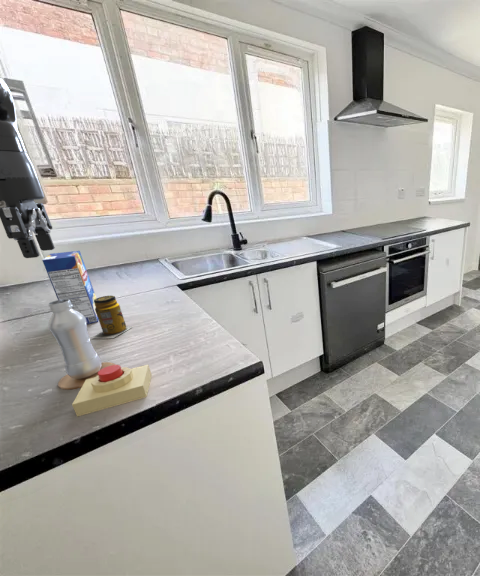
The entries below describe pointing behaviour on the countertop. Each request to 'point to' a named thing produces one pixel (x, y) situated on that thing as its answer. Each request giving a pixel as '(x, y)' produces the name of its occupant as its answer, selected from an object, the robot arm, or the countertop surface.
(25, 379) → the countertop surface
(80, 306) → the blue cardboard box
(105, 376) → the red button cap
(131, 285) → the countertop surface
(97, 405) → the button base
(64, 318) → the plastic bottle
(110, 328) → the condiment
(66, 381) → the coaster
